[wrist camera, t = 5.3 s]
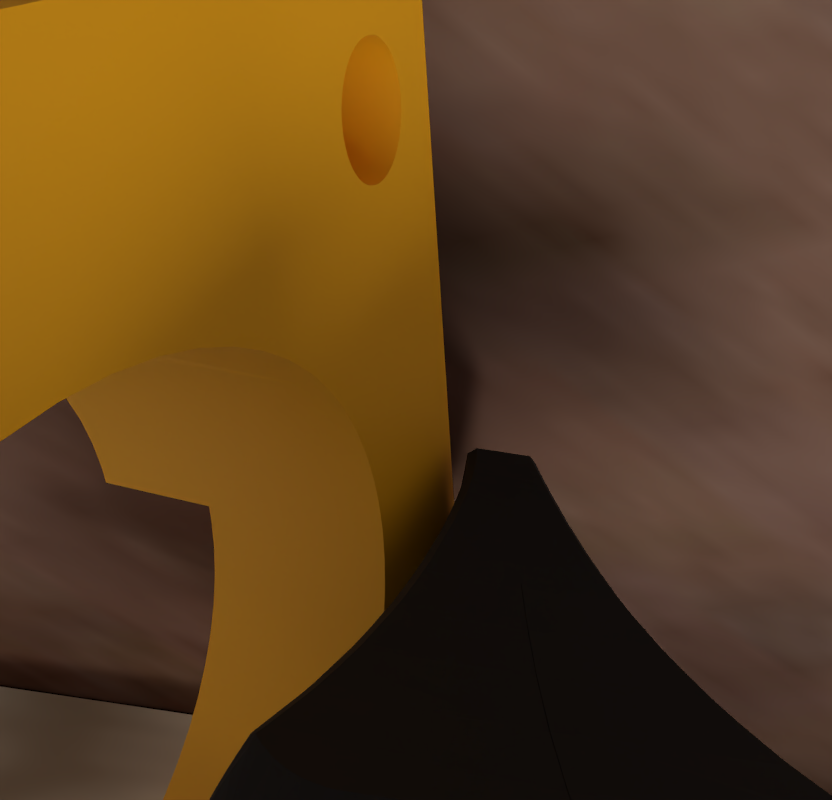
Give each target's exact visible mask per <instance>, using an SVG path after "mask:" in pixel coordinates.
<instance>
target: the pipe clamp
mask: <svg viewBox="0 0 832 800" xmlns="http://www.w3.org/2000/svg"><path fill="white" fill-rule="evenodd" d="M64 399H67V401H68V402H69V404H70V405H71V407H72V408H73V410H74V411H75V413H76V414H77V416H78V417H79V419H80V420H81V422H82V424H83V426H84V428H85V430H86V432H87V434H88V436H89V438H90V440H91V442H92V444H93V446H94V449H95V451H96V454H97V457H98V459H99V462H100V465H101V467H102V470H103V474H104V477H105V481H106V483H110V484H114V485H118V486H123V487H127V488H131V489H136V490H140V491H144V492H149V493H153V494H158V495H162V496H166V497H171V498H175V499H179V500H184V501H188V502H192V503H197V504H201V505H205V506H209V509H210V515H211V523H212V532H213V541H214V563H215V583H214V605H213V615H212V624H211V633H210V640H209V646H208V652H207V657H206V663H205V668H204V673H203V677H202V682H201V686H200V690H199V695H198V699H197V702H196V706H195V709H194V713H193V716H192V720H191V723H190V727H189V730H188V733H187V736H186V739H185V742H184V745H183V748H182V751H181V754H180V757H179V760H178V763H177V765H176V768H175V771H174V773H173V776H172V778H171V781H170V783H169V786H168V788H167V791H166V793H165V796H164V798H163V800H209V799H210V797H211V795H212V794H213V792H214V790H215V788H216V787H217V785H218V783H219V782H220V780H221V778H222V777H223V775H224V774H225V772H226V770H227V769H228V767H229V765H230V764H231V762H232V761H233V759H234V758H235V756H236V755H237V753H238V752H239V750H240V749H241V747H242V745H243V744H244V742H245V741H246V740H247V738H248V737H249V735H250V734H251V733H252V732H253V731H254V730H255V729H257V728H258V727H259V726H260V725H262V724H263V723H264V722H266V721H267V720H268V719H269V718H271V717H272V716H273V715H275V714H276V713H277V712H278V711H280V710H281V709H282V708H284V707H285V706H286V705H287V704H289V703H290V702H291V701H293V700H294V699H295V698H296V697H298V696H299V695H300V694H301V693H303V692H304V691H305V690H306V689H307V688H308V687H310V686H311V685H312V684H313V683H314V682H315V681H316V680H317V679H319V678H320V677H321V676H322V675H323V674H324V673H325V672H326V671H327V670H328V669H329V668H330V667H331V666H332V665H333V664H334V663H336V662H337V661H338V660H339V659H340V658H341V657H342V656H343V655H344V654H345V653H346V652H347V651H348V650H349V649H350V648H351V647H352V646H353V645H354V644H355V643H356V642H357V641H358V640H359V639H360V638H361V637H362V636H363V635H364V634H365V633H366V632H367V631H368V629H369V628H370V627H371V626H372V625H373V624H374V623H375V621H376V620H377V619H378V618H379V617H380V616H381V615H382V613H383V612H384V611H385V610H386V609H387V608H388V606H389V605H390V604H391V603H392V602H393V600H394V599H395V598H396V596H397V595H398V594H399V593H400V591H401V590H402V589H403V587H404V586H405V585H406V583H407V582H408V581H409V579H410V578H411V577H412V575H413V574H414V572H415V571H416V569H417V568H418V566H419V565H420V563H421V562H422V560H423V559H424V557H425V556H426V554H427V552H428V551H429V549H430V547H431V546H432V544H433V542H434V541H435V539H436V538H437V536H438V534H439V533H440V531H441V529H442V527H443V525H444V524H445V521H446V519H447V517H448V515H449V513H450V511H451V509H452V507H453V505H454V494H453V479H452V463H451V447H450V432H449V416H448V400H447V385H446V369H445V354H444V338H443V322H442V307H441V291H440V275H439V260H438V244H437V229H436V213H435V197H434V182H433V166H432V150H431V135H430V119H429V104H428V88H427V72H426V57H425V41H424V25H423V10H422V0H0V441H2V440H3V439H5V438H6V437H8V436H9V435H11V434H12V433H14V432H15V431H17V430H18V429H20V428H21V427H23V426H24V425H25V424H27V423H28V422H30V421H31V420H33V419H34V418H36V417H37V416H39V415H40V414H42V413H43V412H45V411H46V410H48V409H49V408H50V407H52V406H53V405H55V404H56V403H58V402H60V401H62V400H64Z"/></svg>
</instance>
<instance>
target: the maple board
mask: <svg viewBox="0 0 832 800" xmlns="http://www.w3.org/2000/svg"><path fill="white" fill-rule="evenodd" d="M192 716H193V715H190V714H183V713H177V712H170V711H163V710H156V709H150V708H143V707H136V706H129V705H123V704H116V703H109V702H102V701H96V700H89V699H82V698H75V697H68V696H62V695H55V694H48V693H41V692H35V691H28V690H21V689H14V688H8V687H1V686H0V800H163V798H164V796H165V793H166V791H167V788H168V786H169V783H170V781H171V778H172V776H173V773H174V771H175V768H176V765H177V763H178V760H179V757H180V754H181V751H182V748H183V745H184V742H185V739H186V736H187V733H188V730H189V727H190V723H191V720H192Z"/></svg>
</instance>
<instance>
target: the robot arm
mask: <svg viewBox="0 0 832 800" xmlns="http://www.w3.org/2000/svg"><path fill="white" fill-rule="evenodd" d="M209 800H832V796H831V795H830V794H828V793H827V792H826V791H824V790H823V789H822V788H820V787H819V786H817V785H816V784H815V783H813V782H812V781H811V780H809V779H808V778H807V777H805V776H804V775H802V774H801V773H800V772H798V771H797V770H796V769H794V768H793V767H792V766H790V765H789V764H788V763H786V762H785V761H784V760H783V759H781V758H780V757H779V756H778V755H777V754H775V753H774V752H773V751H772V750H771V749H769V748H768V747H767V746H766V745H765V744H763V743H762V742H761V741H760V740H759V739H757V738H756V737H755V736H754V735H752V734H751V733H750V732H749V731H748V730H746V729H745V728H744V727H743V726H742V725H740V724H739V723H738V722H737V721H736V720H735V719H734V718H733V717H731V716H730V715H729V714H728V713H727V712H726V711H725V710H724V709H723V708H721V707H720V706H719V705H718V704H717V703H716V702H715V701H714V700H713V699H711V698H710V697H709V696H708V695H707V694H706V693H705V692H704V691H703V690H702V689H701V688H700V687H699V686H698V685H697V684H696V683H695V682H694V681H693V680H692V679H691V678H690V677H689V676H688V675H687V674H686V673H685V672H684V671H683V670H682V669H681V668H680V667H679V666H678V665H677V664H676V663H675V662H674V661H673V660H672V659H671V658H670V657H669V656H668V655H667V654H666V653H665V652H664V651H663V650H662V649H661V648H660V647H659V645H658V644H657V643H656V642H655V641H654V640H653V639H652V637H651V636H650V635H649V634H648V633H647V632H646V631H645V629H644V628H643V627H642V626H641V625H640V624H639V623H638V621H637V620H636V619H635V618H634V617H633V616H632V615H631V613H630V612H629V611H628V610H627V608H626V607H625V606H624V605H623V603H622V602H621V601H620V599H619V598H618V597H617V596H616V594H615V593H614V591H613V590H612V589H611V587H610V586H609V585H608V583H607V582H606V580H605V579H604V578H603V576H602V575H601V574H600V572H599V571H598V569H597V568H596V566H595V565H594V563H593V562H592V560H591V559H590V557H589V556H588V554H587V553H586V551H585V550H584V548H583V547H582V545H581V543H580V542H579V540H578V539H577V537H576V536H575V534H574V532H573V531H572V529H571V528H570V526H569V524H568V523H567V521H566V519H565V518H564V516H563V514H562V512H561V511H560V509H559V507H558V505H557V504H556V502H555V500H554V498H553V497H552V495H551V493H550V491H549V489H548V487H547V485H546V484H545V482H544V480H543V478H542V476H541V474H540V472H539V470H538V468H537V466H536V464H535V463H534V461H533V460H532V458H531V457H530V456H524V455H518V454H511V453H504V452H498V451H491V450H485V449H478V448H476V449H475V450H473V451H471V452H470V453H468V455H467V460H466V465H465V471H464V476H463V481H462V486H461V489H460V491H459V494H458V497H457V499H456V501H455V503H454V505H453V507H452V509H451V511H450V513H449V515H448V517H447V519H446V521H445V524H444V525H443V527H442V529H441V531H440V533H439V534H438V536H437V538H436V539H435V541H434V542H433V544H432V546H431V547H430V549H429V551H428V552H427V554H426V556H425V557H424V559H423V560H422V562H421V563H420V565H419V566H418V568H417V569H416V571H415V572H414V574H413V575H412V577H411V578H410V579H409V581H408V582H407V583H406V585H405V586H404V587H403V589H402V590H401V591H400V593H399V594H398V595H397V596H396V598H395V599H394V600H393V602H392V603H391V604H390V605H389V606H388V608H387V609H386V610H385V611H384V612H383V613H382V615H381V616H380V617H379V618H378V619H377V620H376V621H375V623H374V624H373V625H372V626H371V627H370V628H369V629H368V631H367V632H366V633H365V634H364V635H363V636H362V637H361V638H360V639H359V640H358V641H357V642H356V643H355V644H354V645H353V646H352V647H351V648H350V649H349V650H348V651H347V652H346V653H345V654H344V655H343V656H342V657H341V658H340V659H339V660H338V661H337V662H336V663H334V664H333V665H332V666H331V667H330V668H329V669H328V670H327V671H326V672H325V673H324V674H323V675H322V676H321V677H320V678H319V679H317V680H316V681H315V682H314V683H313V684H312V685H311V686H310V687H308V688H307V689H306V690H305V691H304V692H303V693H301V694H300V695H299V696H298V697H296V698H295V699H294V700H293V701H291V702H290V703H289V704H287V705H286V706H285V707H284V708H282V709H281V710H280V711H278V712H277V713H276V714H275V715H273V716H272V717H271V718H269V719H268V720H267V721H266V722H264V723H263V724H262V725H260V726H259V727H258V728H257V729H255V730H254V731H253V732H252V733H251V734H250V735H249V737H248V738H247V740H246V741H245V742H244V744H243V745H242V747H241V749H240V750H239V752H238V753H237V755H236V756H235V758H234V759H233V761H232V762H231V764H230V765H229V767H228V769H227V770H226V772H225V774H224V775H223V777H222V778H221V780H220V782H219V783H218V785H217V787H216V788H215V790H214V792H213V794H212V795H211V797H210V799H209Z"/></svg>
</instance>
